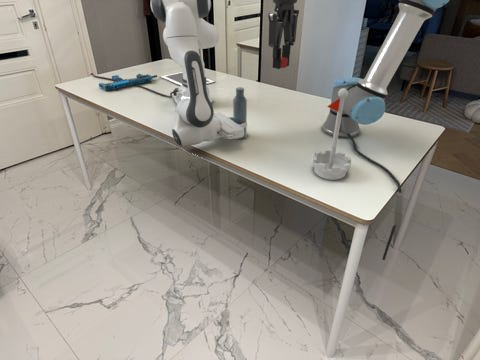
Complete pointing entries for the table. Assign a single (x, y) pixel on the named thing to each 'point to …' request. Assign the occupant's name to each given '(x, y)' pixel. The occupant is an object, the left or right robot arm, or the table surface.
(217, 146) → the table surface
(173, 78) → the tablet
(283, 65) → the cap
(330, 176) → the flag stand
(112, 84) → the submachine gun
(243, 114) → the bottle
